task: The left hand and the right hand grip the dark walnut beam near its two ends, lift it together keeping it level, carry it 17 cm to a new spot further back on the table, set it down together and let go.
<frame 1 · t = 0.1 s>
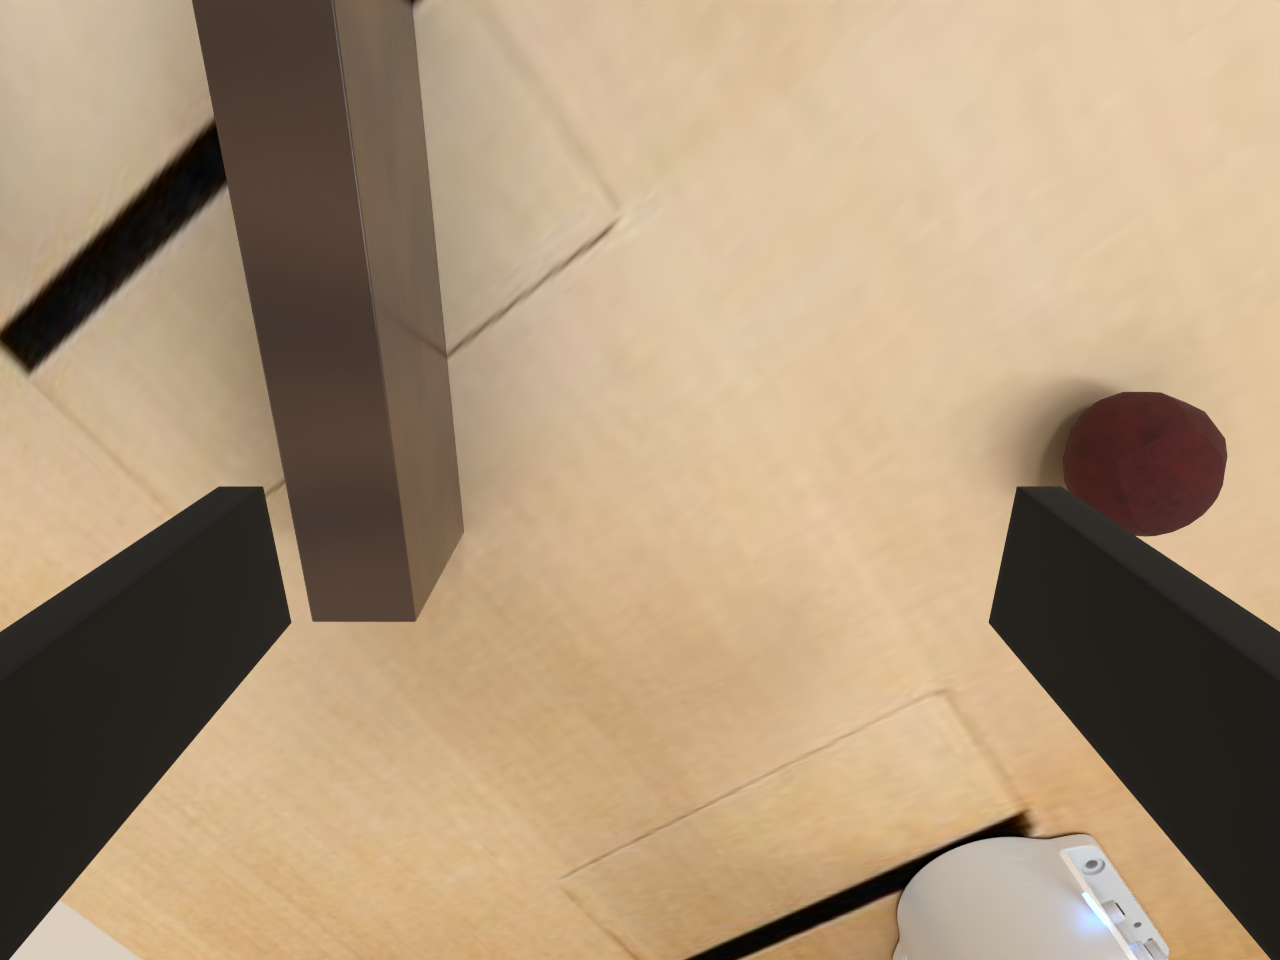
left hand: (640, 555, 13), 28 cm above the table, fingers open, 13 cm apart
beam: (395, 298, 38), on the table
dark red round ball: (1099, 440, 41), on the table
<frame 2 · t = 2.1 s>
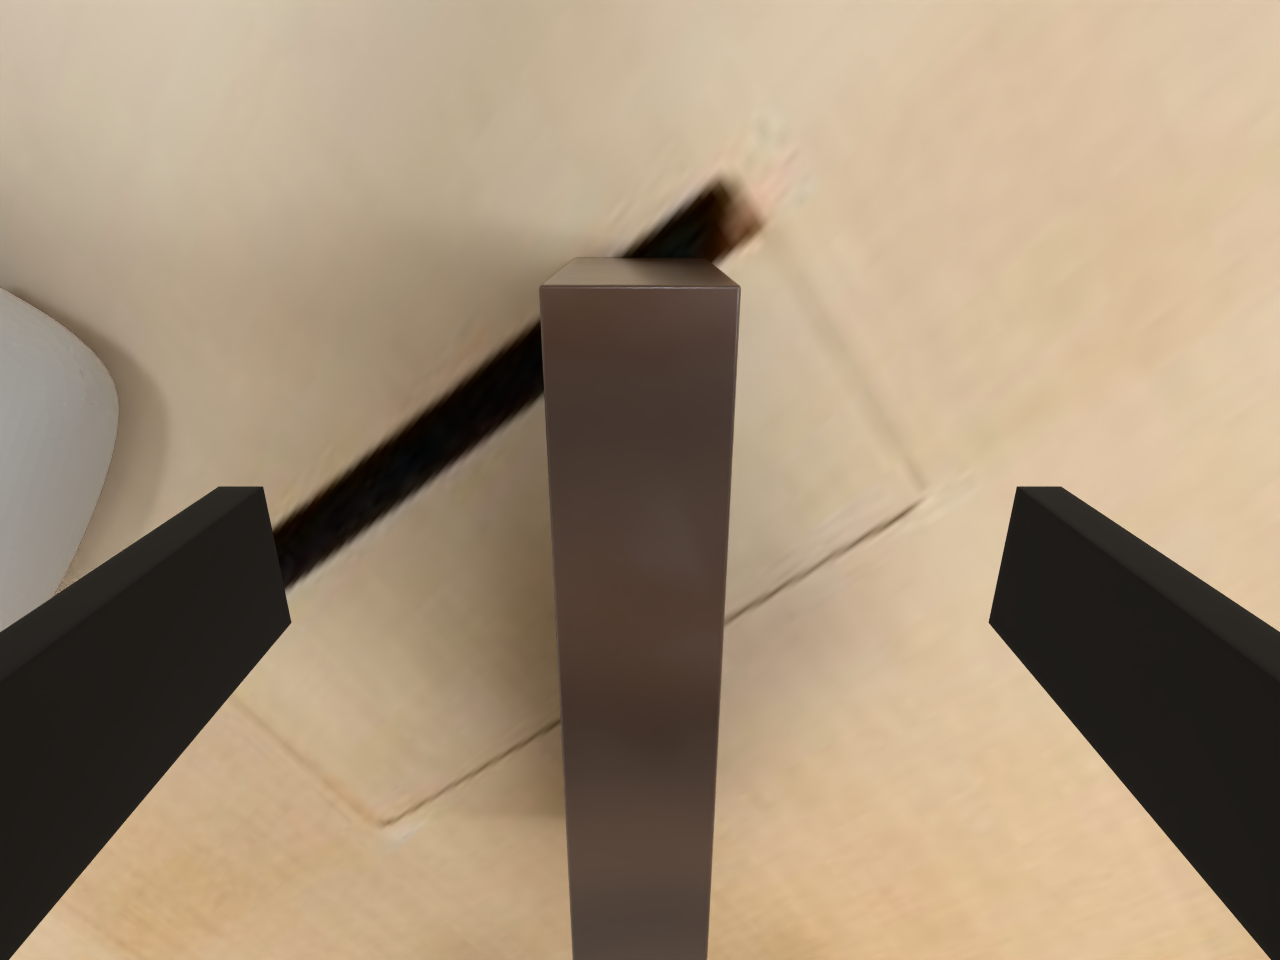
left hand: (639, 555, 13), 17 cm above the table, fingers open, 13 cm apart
beam: (639, 582, 32), on the table
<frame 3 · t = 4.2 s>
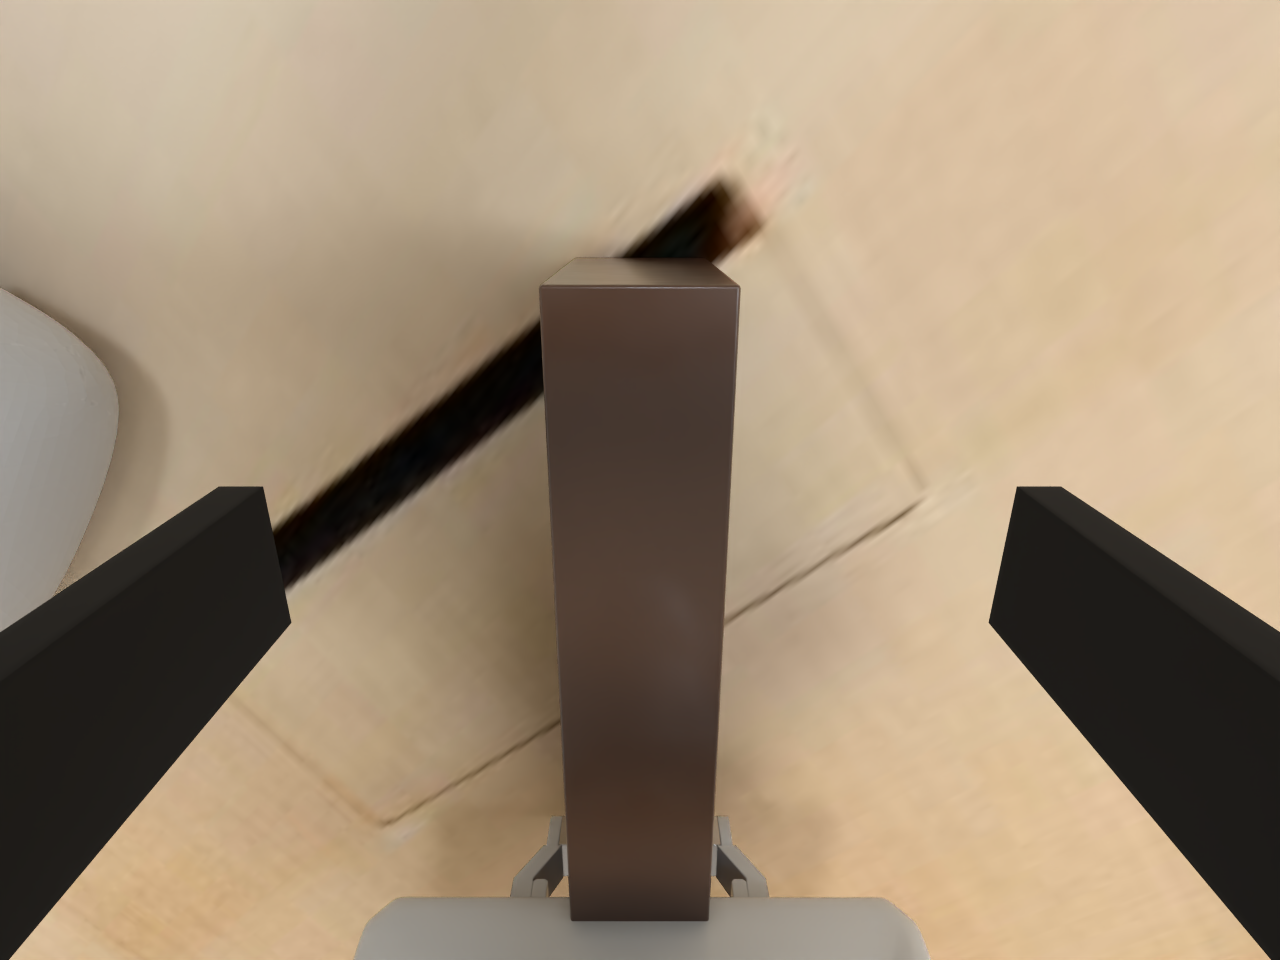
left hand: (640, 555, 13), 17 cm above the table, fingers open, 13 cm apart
beam: (639, 583, 32), on the table, touching right hand
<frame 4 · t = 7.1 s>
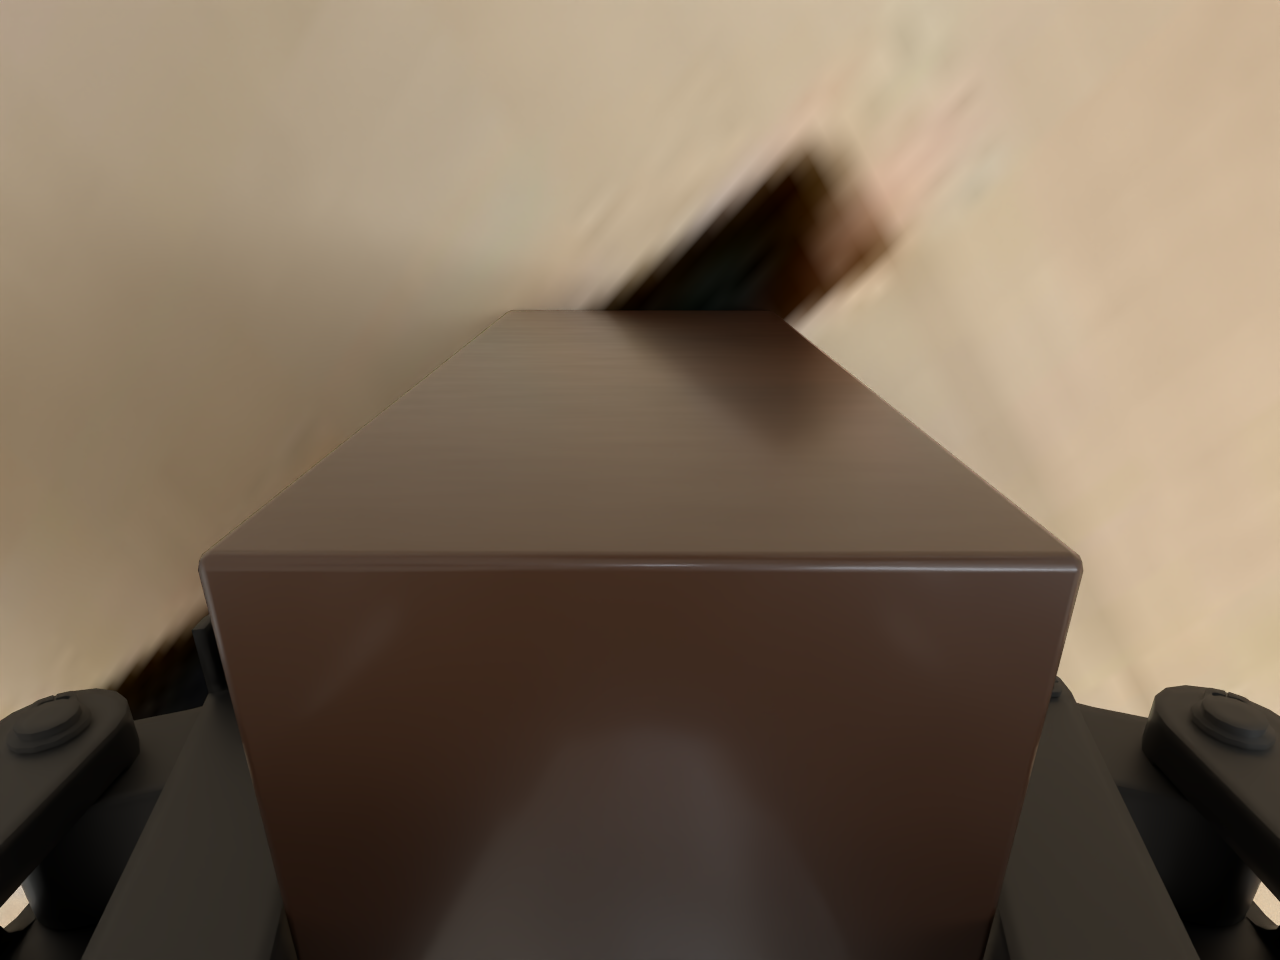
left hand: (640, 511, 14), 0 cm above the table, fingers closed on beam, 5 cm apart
beam: (640, 860, 18), on the table, touching left hand, right hand
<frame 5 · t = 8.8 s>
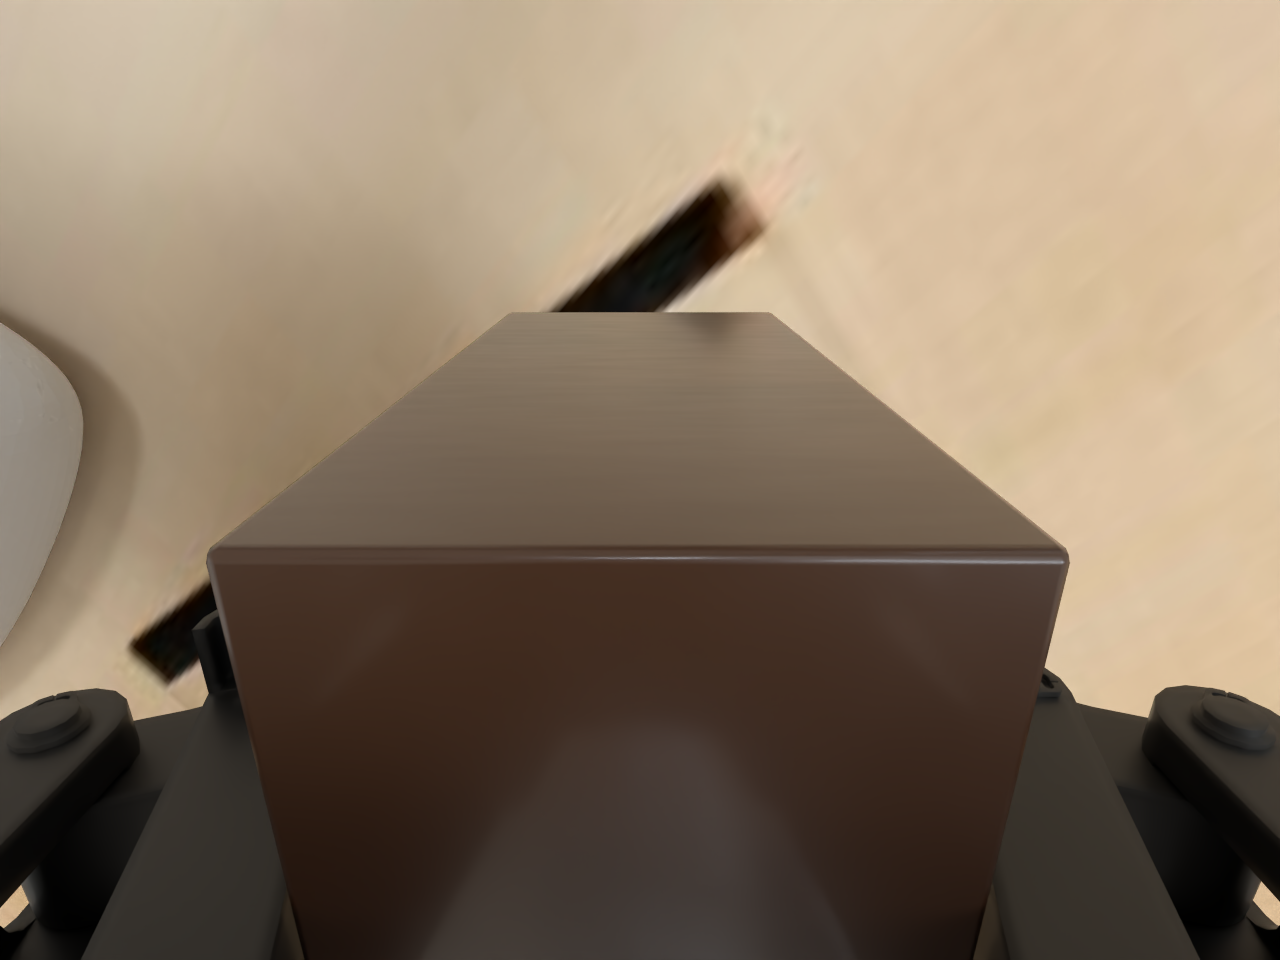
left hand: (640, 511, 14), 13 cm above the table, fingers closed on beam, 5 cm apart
beam: (640, 860, 18), point 13 cm above the table, touching left hand, right hand
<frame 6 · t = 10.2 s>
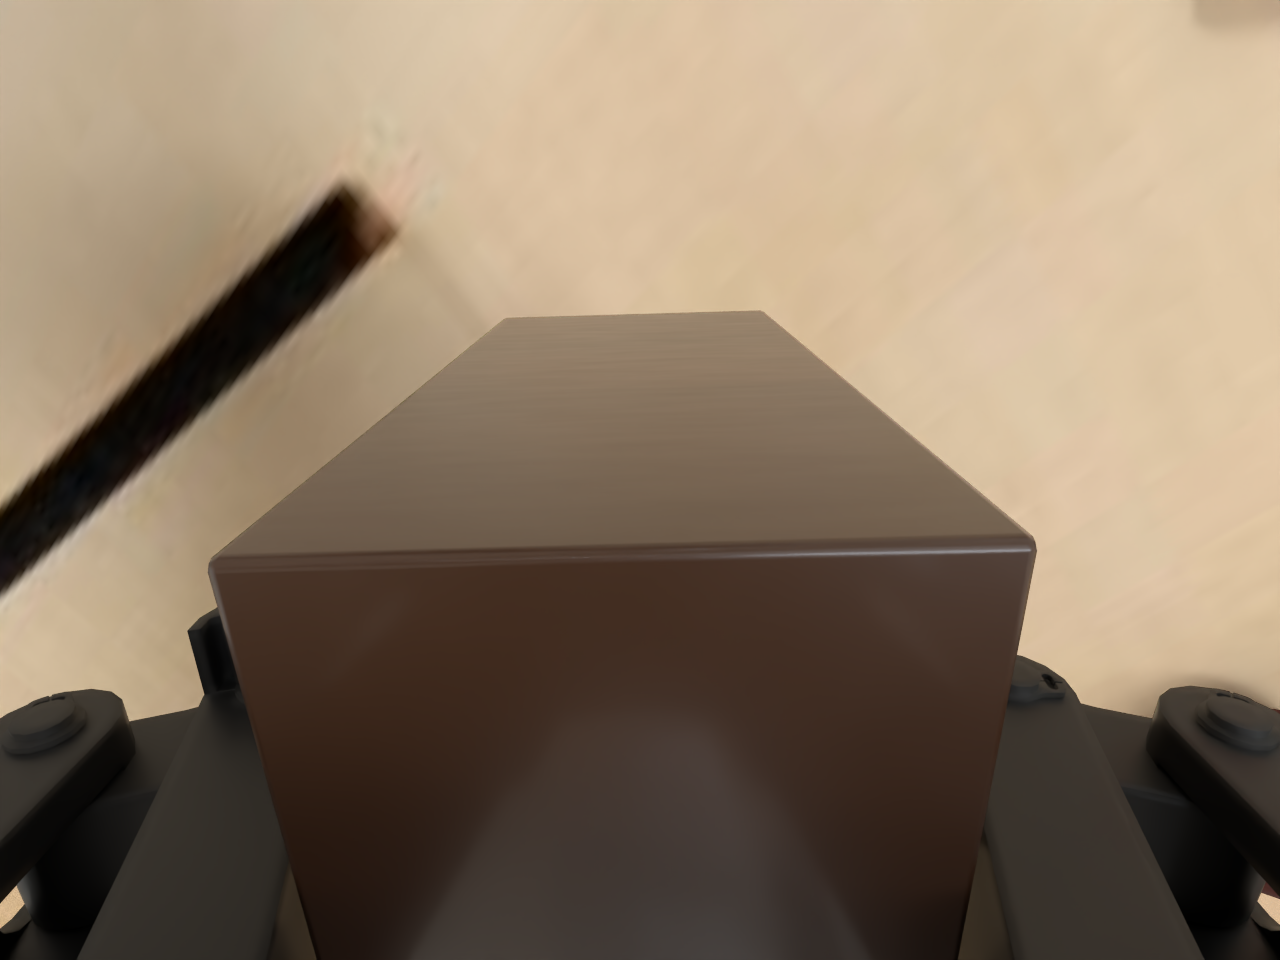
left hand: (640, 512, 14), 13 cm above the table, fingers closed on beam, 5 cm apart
beam: (650, 856, 19), point 13 cm above the table, touching left hand, right hand
when the left hand's fingers open (1 cm above the table, at t = 13.5 s): beam stays where it is, on the table.
when the right hand's fingers open (5 cm above the table, at t = 13.7 s): beam stays where it is, on the table.
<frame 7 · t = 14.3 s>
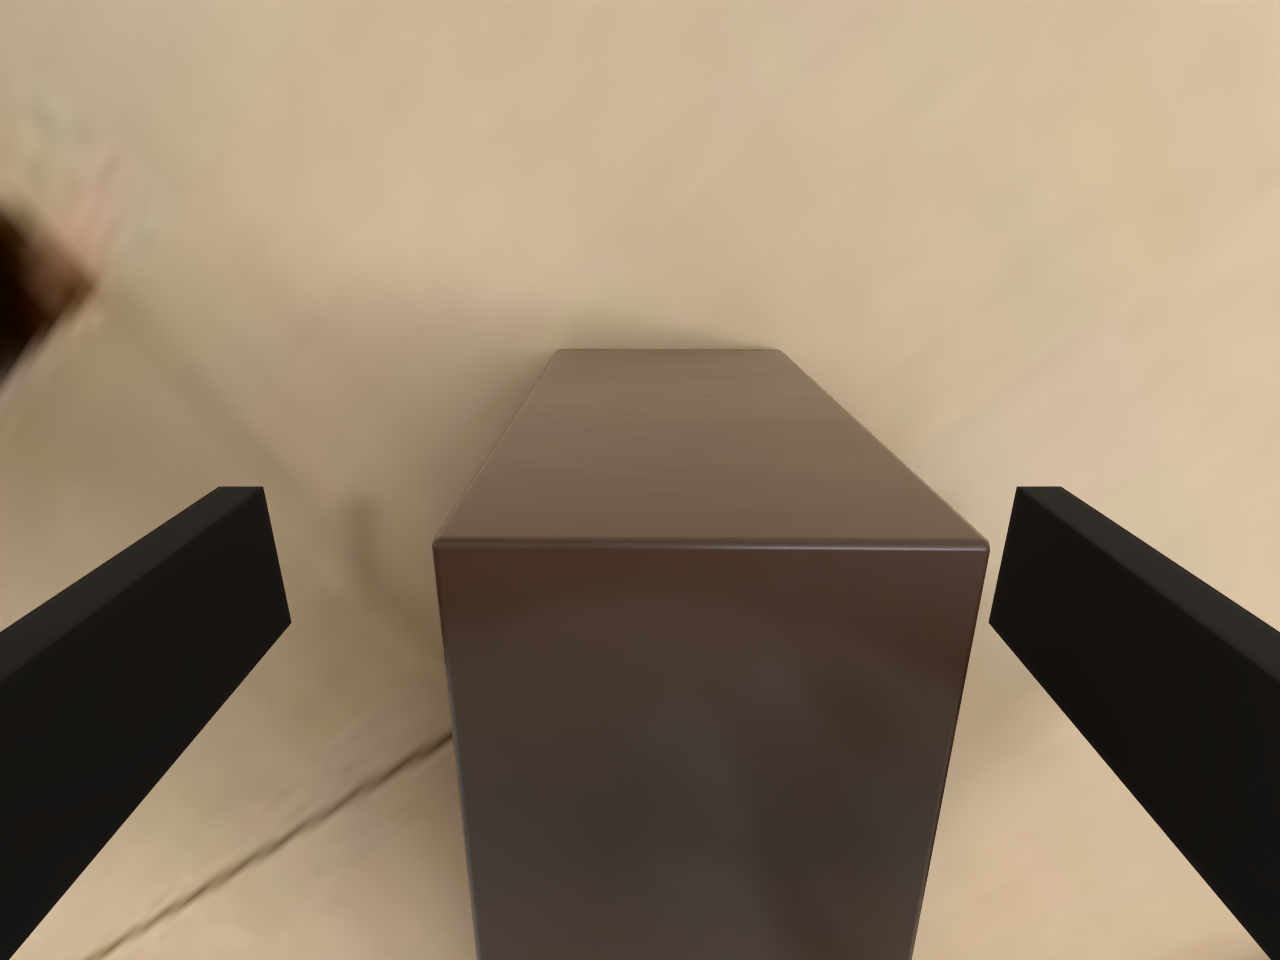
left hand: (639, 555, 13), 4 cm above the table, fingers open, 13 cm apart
beam: (661, 834, 20), on the table
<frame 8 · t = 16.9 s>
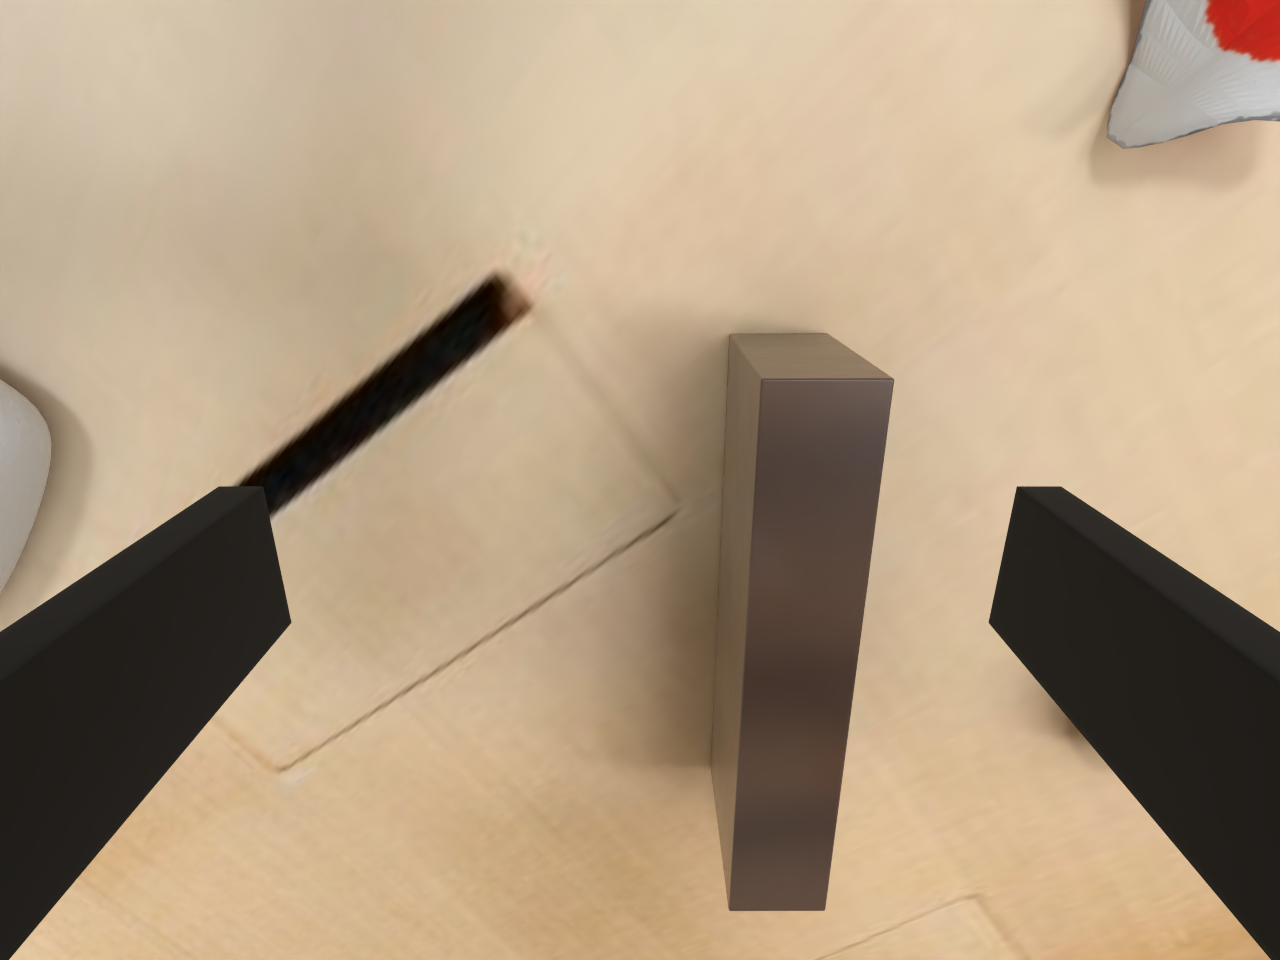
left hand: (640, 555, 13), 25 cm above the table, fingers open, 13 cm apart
red white curved piece: (1240, 3, 31), on the table
beam: (762, 577, 41), on the table
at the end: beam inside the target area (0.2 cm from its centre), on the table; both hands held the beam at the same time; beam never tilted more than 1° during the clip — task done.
